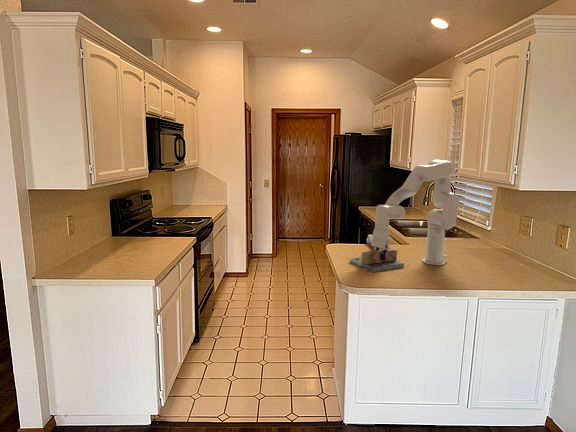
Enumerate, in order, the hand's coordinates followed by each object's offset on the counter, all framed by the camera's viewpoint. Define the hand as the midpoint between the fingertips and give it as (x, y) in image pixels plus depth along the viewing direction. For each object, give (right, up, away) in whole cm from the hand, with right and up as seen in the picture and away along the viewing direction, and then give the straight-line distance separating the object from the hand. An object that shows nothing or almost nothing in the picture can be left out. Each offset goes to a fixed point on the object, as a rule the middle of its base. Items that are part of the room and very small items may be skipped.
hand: (379, 258), depth 231 cm
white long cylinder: (+6, +3, +46) cm, 46 cm away
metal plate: (+1, -5, -2) cm, 5 cm away
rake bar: (0, -1, 0) cm, 1 cm away
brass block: (-8, -2, +1) cm, 8 cm away
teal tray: (-4, -3, +7) cm, 9 cm away
